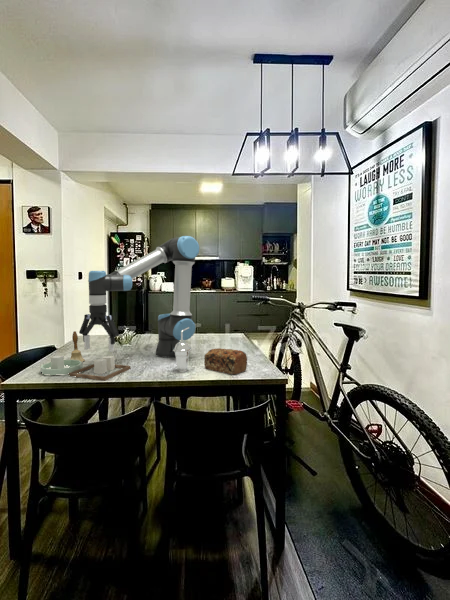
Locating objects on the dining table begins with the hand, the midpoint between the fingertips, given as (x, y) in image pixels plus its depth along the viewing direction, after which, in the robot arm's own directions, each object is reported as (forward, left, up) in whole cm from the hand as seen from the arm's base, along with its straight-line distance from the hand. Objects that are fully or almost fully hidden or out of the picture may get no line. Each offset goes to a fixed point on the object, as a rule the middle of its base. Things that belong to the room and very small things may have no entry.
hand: (99, 350), depth 165 cm
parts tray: (0, 0, -11) cm, 11 cm away
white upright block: (0, -6, -11) cm, 12 cm away
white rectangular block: (+22, +3, -10) cm, 25 cm away
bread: (-54, -23, -11) cm, 59 cm away
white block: (0, 0, -11) cm, 11 cm away
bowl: (+20, +3, -11) cm, 23 cm away
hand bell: (+26, -13, -11) cm, 31 cm away
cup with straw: (-35, -15, -11) cm, 40 cm away
